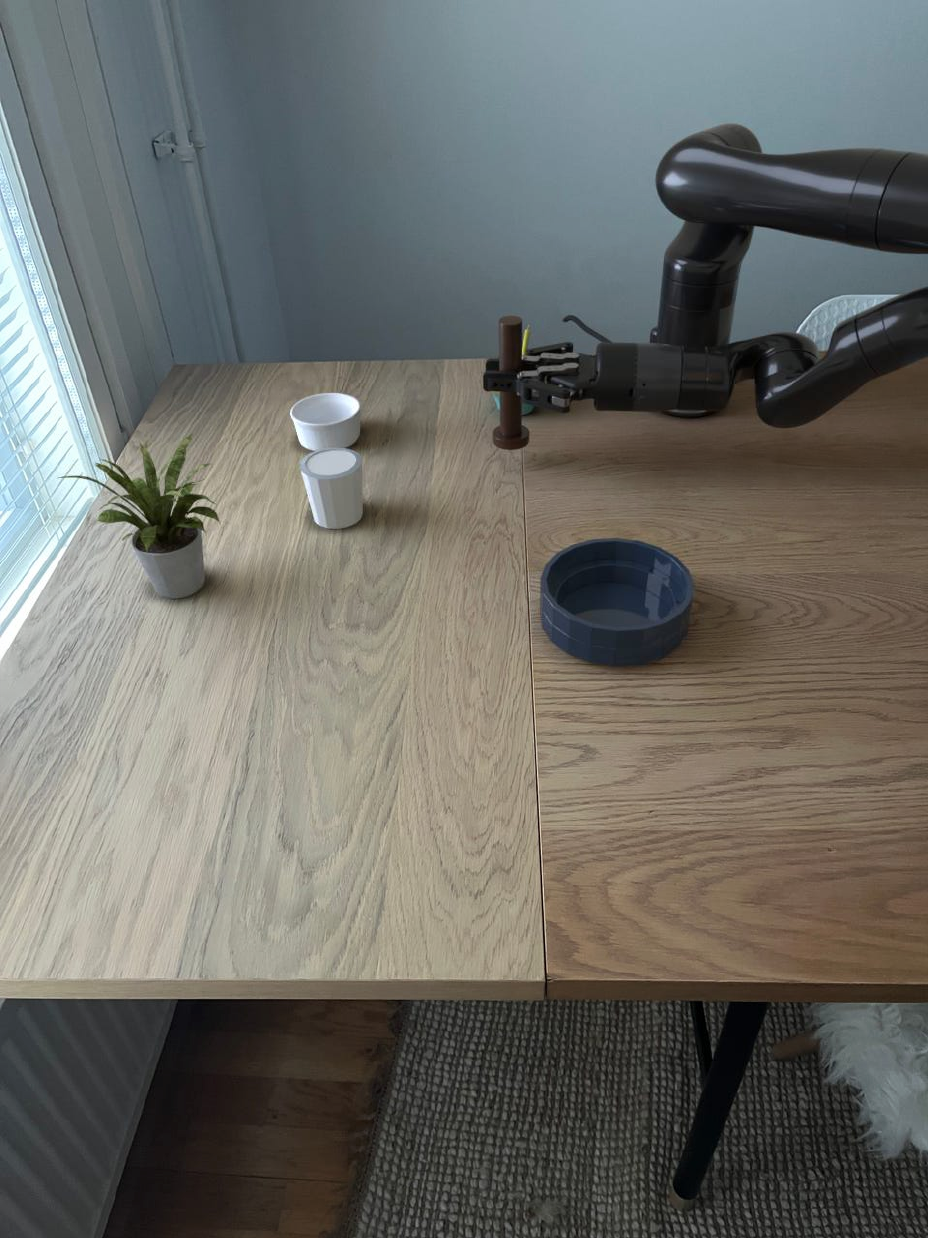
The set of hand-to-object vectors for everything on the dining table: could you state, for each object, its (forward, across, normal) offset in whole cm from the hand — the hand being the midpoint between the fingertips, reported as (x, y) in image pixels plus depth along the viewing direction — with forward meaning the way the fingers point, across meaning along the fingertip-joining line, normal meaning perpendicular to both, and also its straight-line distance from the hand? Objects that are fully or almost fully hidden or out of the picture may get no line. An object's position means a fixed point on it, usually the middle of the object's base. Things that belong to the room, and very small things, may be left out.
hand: (485, 374), depth 109 cm
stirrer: (-3, 0, +8) cm, 9 cm away
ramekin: (+21, -6, +12) cm, 25 cm away
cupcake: (-2, -15, +12) cm, 19 cm away
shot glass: (+16, +12, +12) cm, 23 cm away
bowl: (-15, +29, +12) cm, 35 cm away
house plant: (+31, +27, +12) cm, 43 cm away
